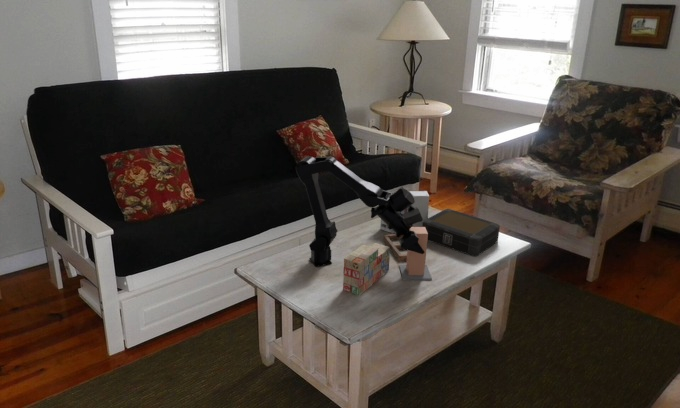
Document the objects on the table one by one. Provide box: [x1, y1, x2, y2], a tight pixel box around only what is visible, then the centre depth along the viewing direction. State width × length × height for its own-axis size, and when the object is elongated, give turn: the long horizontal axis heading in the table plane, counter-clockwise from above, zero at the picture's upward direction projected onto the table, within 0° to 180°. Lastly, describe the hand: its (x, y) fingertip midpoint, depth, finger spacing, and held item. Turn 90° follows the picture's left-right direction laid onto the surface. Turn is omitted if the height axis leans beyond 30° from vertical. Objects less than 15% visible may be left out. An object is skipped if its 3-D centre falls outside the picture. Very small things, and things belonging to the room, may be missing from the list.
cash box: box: [422, 208, 501, 257], centre depth 225 cm, size 25×20×8 cm
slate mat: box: [398, 264, 433, 281], centre depth 200 cm, size 10×10×1 cm
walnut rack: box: [382, 233, 407, 262], centre depth 217 cm, size 10×19×2 cm, turn 14°
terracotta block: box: [405, 227, 428, 275], centre depth 197 cm, size 6×6×16 cm
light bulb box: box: [380, 208, 408, 234], centre depth 234 cm, size 11×7×11 cm, turn 143°
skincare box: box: [409, 190, 430, 227], centre depth 235 cm, size 8×6×15 cm
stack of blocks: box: [342, 242, 391, 297], centre depth 192 cm, size 21×6×12 cm, turn 148°
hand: (421, 247), depth 196 cm, fingers open, 9 cm apart
